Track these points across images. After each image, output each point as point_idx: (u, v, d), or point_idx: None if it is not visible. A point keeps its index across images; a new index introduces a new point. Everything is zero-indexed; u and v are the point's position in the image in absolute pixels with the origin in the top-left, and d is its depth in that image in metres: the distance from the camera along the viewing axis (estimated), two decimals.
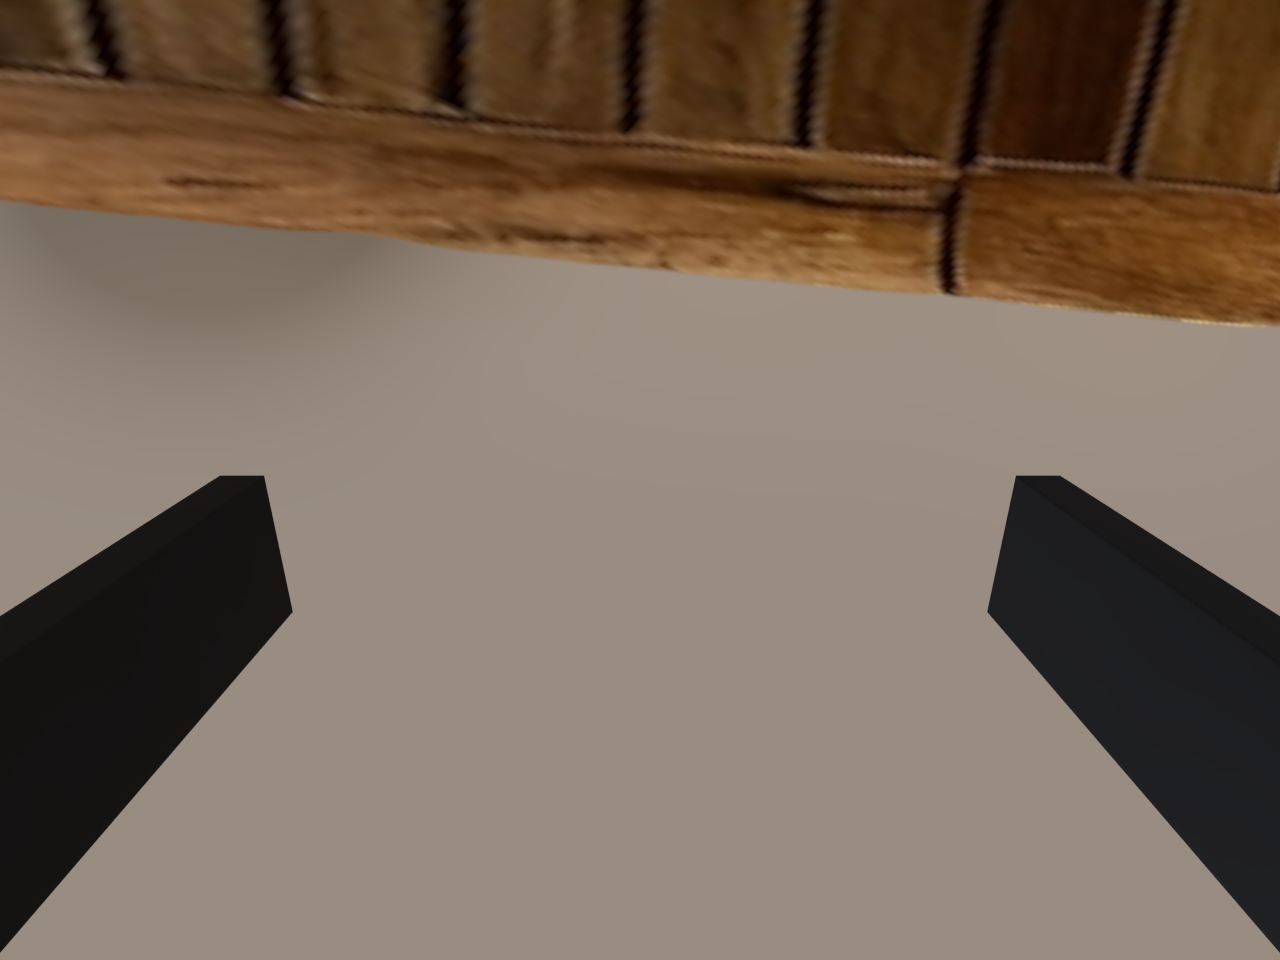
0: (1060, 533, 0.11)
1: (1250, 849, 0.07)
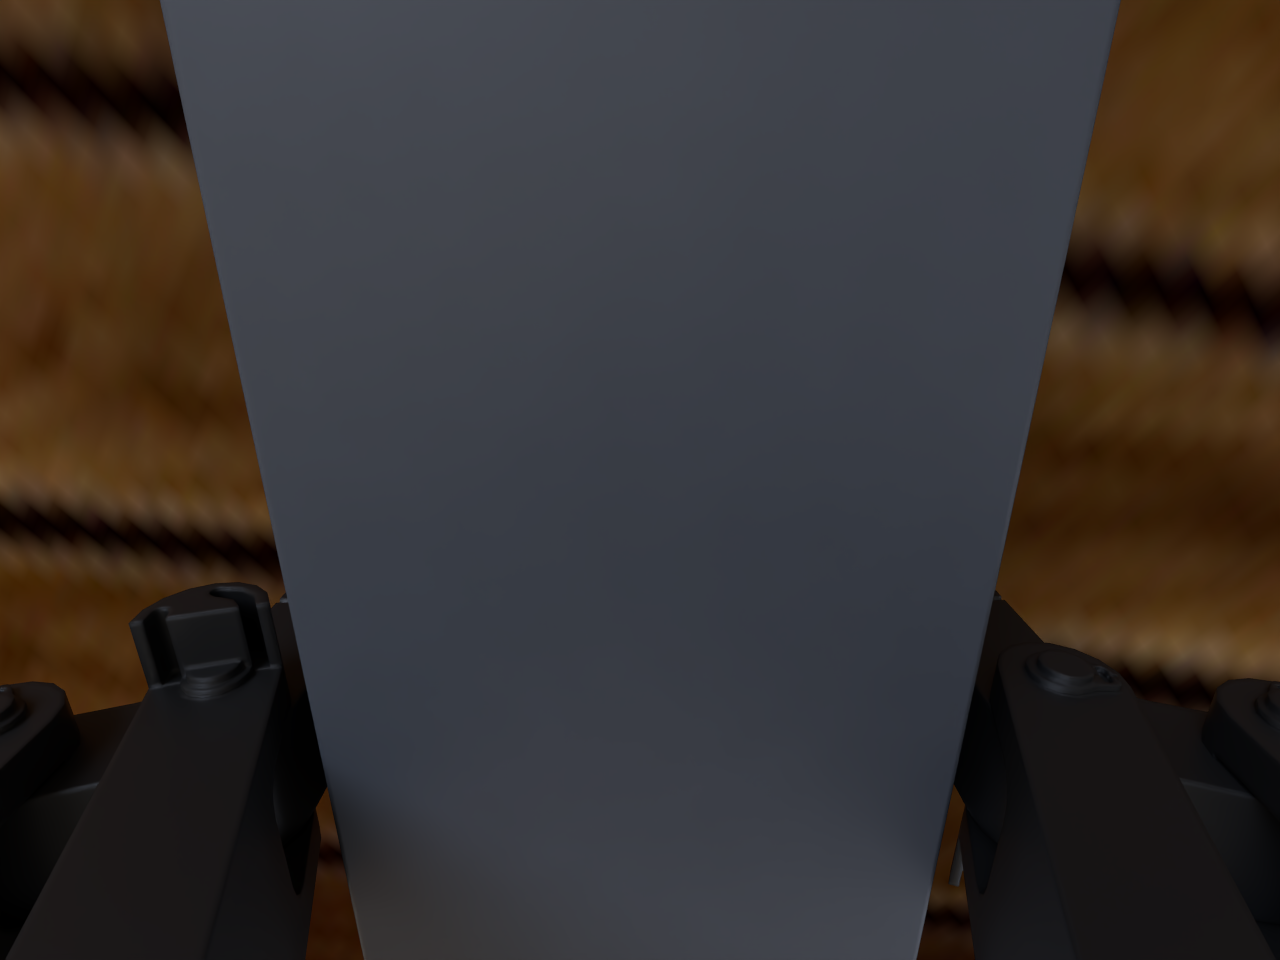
0: None
1: None
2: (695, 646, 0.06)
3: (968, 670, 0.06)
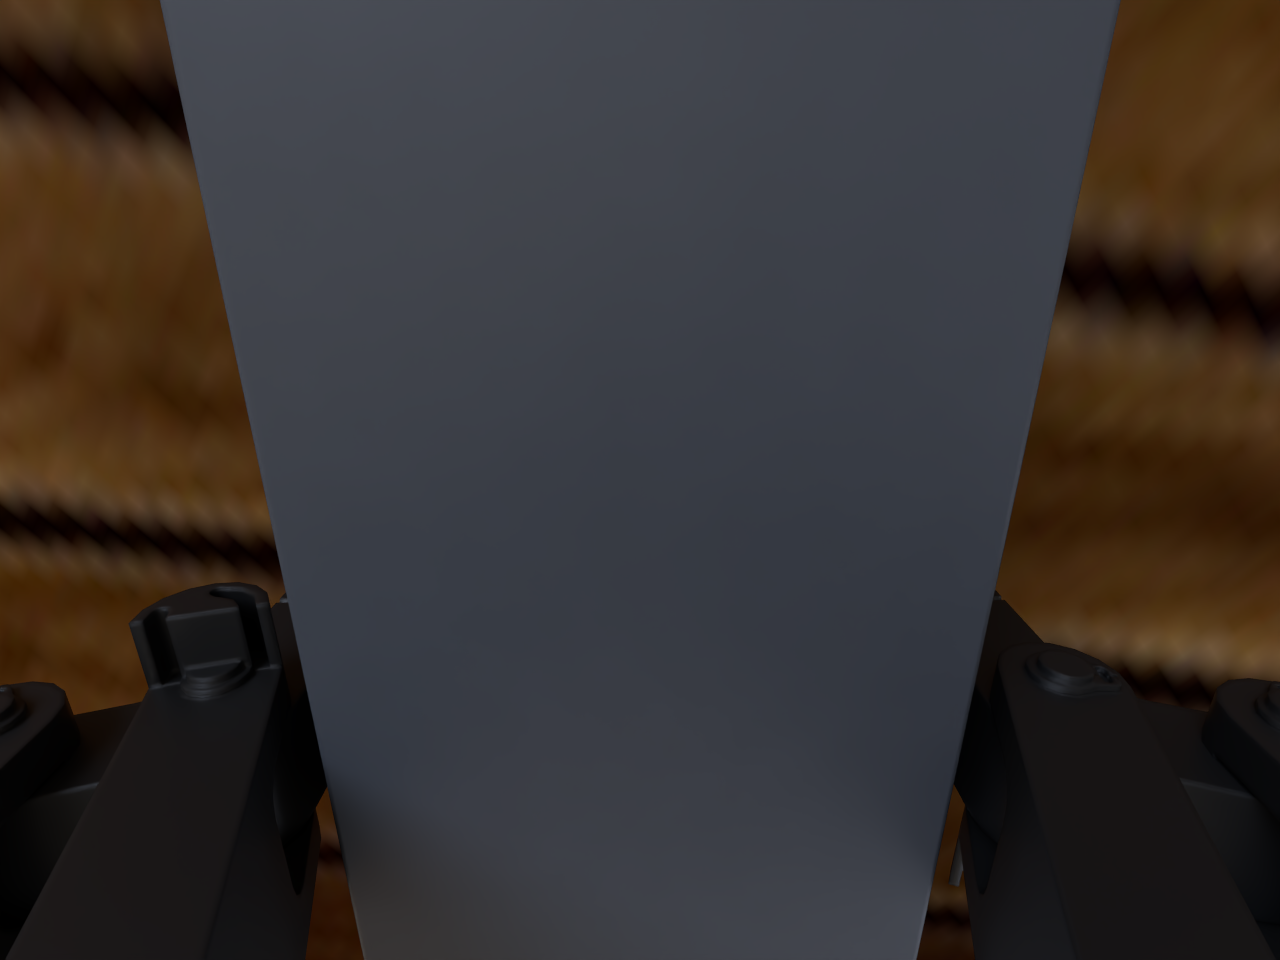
0: None
1: None
2: (695, 646, 0.06)
3: (968, 670, 0.06)
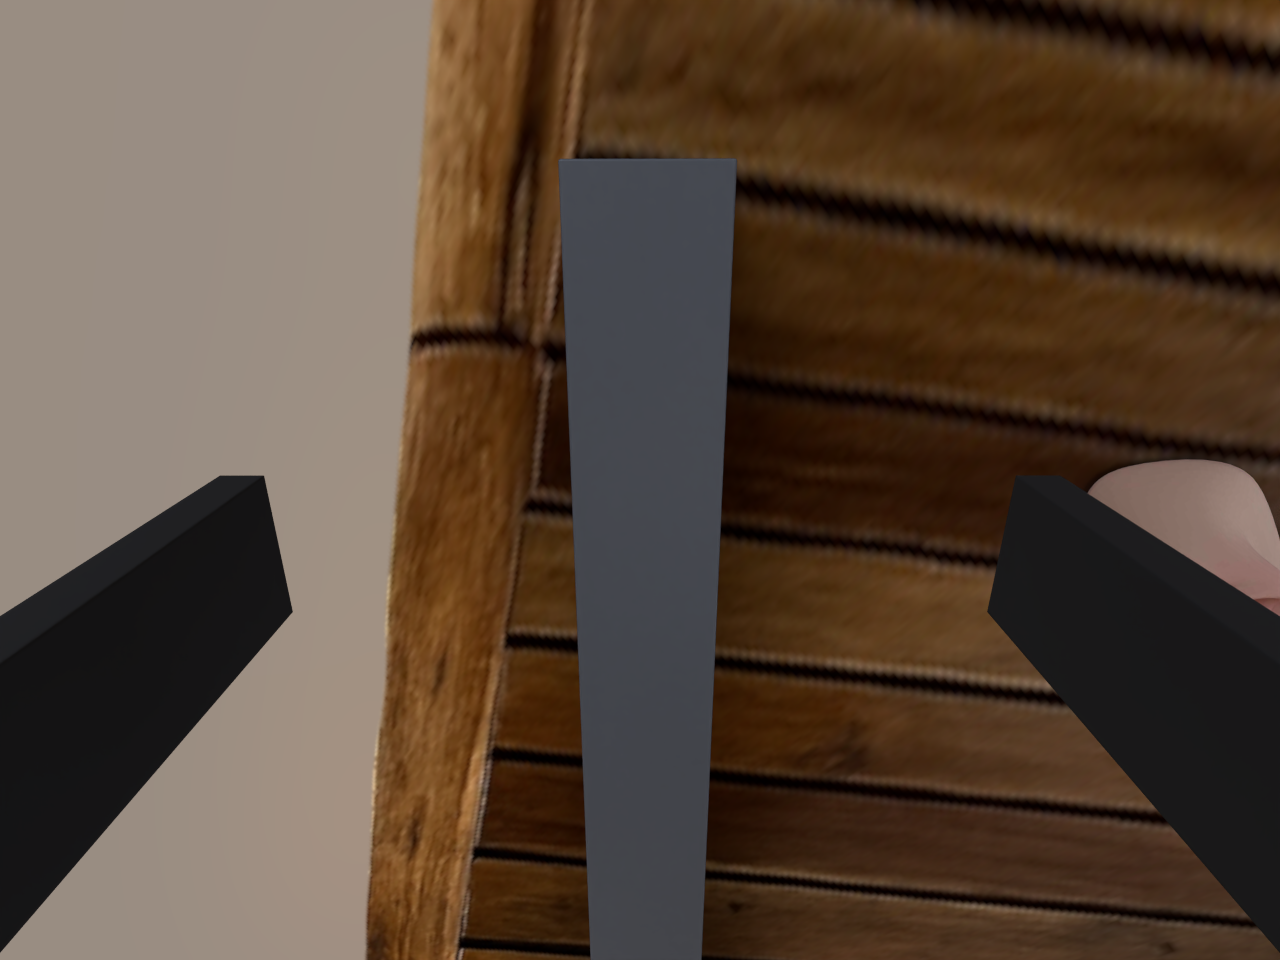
0: (1060, 533, 0.11)
1: (1250, 849, 0.07)
2: (660, 310, 0.25)
3: (727, 317, 0.25)
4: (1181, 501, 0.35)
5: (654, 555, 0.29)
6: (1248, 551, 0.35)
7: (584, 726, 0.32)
